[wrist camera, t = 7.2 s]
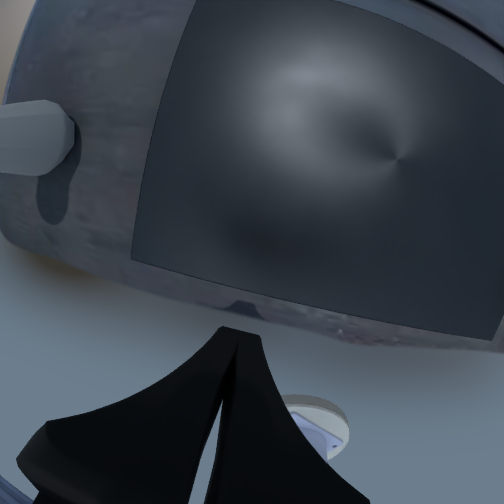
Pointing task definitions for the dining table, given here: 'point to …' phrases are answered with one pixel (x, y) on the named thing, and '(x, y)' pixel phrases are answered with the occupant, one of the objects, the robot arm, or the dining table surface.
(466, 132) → the panel
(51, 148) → the salt shaker
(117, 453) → the robot arm
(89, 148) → the dining table surface
